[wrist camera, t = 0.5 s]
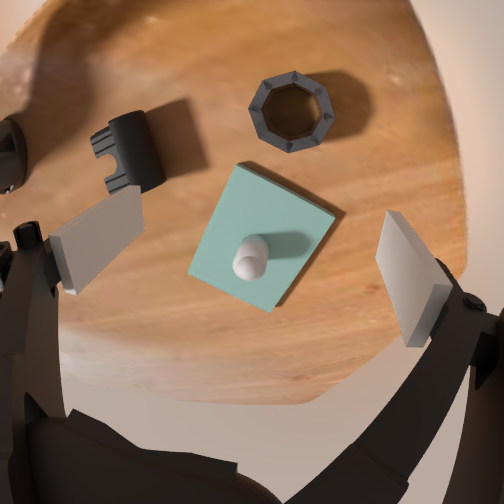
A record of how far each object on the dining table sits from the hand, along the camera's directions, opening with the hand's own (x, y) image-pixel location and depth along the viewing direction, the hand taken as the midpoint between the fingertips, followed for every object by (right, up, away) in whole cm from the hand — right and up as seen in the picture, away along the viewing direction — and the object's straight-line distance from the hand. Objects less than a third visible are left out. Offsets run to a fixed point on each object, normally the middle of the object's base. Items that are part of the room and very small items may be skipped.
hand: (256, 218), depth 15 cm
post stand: (0, 0, +26) cm, 26 cm away
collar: (+5, +15, +17) cm, 23 cm away
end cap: (-15, +12, +22) cm, 30 cm away
